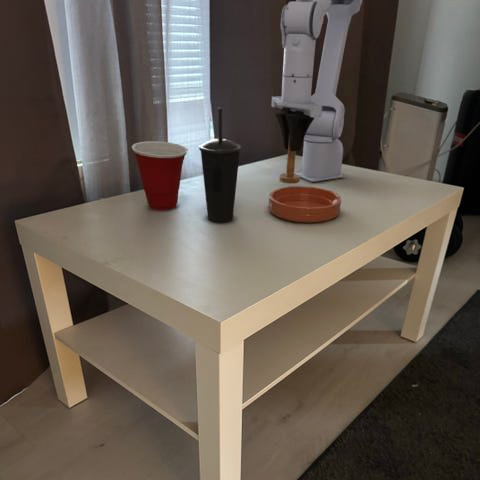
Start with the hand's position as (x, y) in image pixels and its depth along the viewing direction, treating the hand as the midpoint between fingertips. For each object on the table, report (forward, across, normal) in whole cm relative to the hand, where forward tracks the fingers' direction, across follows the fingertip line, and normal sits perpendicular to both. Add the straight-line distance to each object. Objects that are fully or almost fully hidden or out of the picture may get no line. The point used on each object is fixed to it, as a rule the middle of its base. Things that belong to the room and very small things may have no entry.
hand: (292, 149), depth 100 cm
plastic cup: (+11, -8, -26) cm, 29 cm away
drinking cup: (+11, +4, -19) cm, 22 cm away
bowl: (+10, +8, -2) cm, 13 cm away
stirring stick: (+6, 0, 0) cm, 6 cm away
